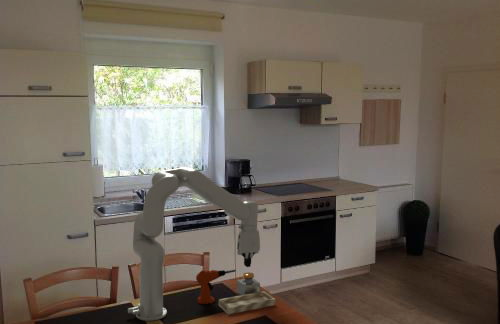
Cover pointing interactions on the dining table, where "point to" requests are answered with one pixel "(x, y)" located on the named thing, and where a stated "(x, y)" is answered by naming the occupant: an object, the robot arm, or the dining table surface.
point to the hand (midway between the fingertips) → (247, 266)
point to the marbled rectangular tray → (246, 302)
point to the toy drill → (208, 284)
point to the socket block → (247, 287)
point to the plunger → (248, 277)
